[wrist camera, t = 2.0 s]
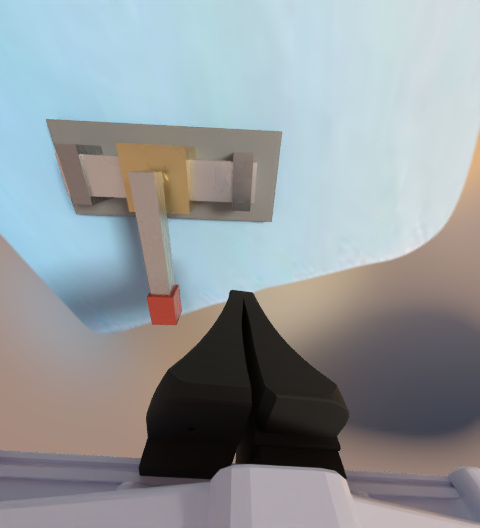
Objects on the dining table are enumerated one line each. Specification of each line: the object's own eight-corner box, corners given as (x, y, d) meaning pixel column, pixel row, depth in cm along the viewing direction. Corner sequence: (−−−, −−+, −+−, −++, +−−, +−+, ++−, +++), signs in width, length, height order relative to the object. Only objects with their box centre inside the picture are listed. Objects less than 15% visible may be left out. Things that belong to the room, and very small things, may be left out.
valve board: (83, 211, 20) (76, 213, 19) (55, 120, 17) (45, 119, 16) (270, 218, 21) (271, 221, 20) (279, 132, 17) (282, 131, 16)
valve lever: (137, 169, 14) (121, 172, 12) (168, 171, 14) (156, 173, 12) (160, 307, 19) (152, 324, 17) (182, 307, 19) (176, 325, 17)
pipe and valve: (95, 198, 19) (62, 209, 15) (80, 141, 17) (38, 138, 13) (251, 205, 19) (254, 216, 16) (255, 150, 17) (259, 149, 14)
